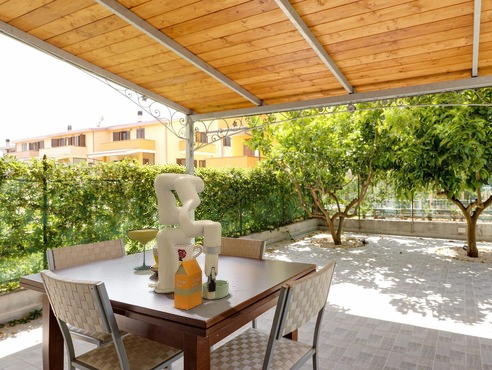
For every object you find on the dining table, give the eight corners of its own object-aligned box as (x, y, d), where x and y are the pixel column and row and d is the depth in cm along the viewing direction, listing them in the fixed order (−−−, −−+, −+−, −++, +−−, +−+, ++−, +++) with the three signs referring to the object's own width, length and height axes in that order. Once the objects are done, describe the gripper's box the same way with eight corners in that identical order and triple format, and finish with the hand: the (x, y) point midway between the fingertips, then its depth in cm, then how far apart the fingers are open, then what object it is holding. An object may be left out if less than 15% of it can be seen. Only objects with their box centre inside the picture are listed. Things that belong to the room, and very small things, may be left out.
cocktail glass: (137, 273, 196) (137, 232, 196) (122, 269, 206) (122, 230, 206) (165, 267, 211) (165, 229, 211) (150, 263, 221) (150, 227, 221)
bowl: (203, 301, 147) (203, 288, 147) (201, 293, 158) (201, 281, 158) (230, 297, 152) (230, 285, 152) (226, 290, 163) (226, 278, 163)
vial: (207, 299, 141) (208, 279, 141) (206, 297, 144) (207, 277, 144) (215, 298, 142) (216, 278, 142) (214, 296, 145) (215, 276, 145)
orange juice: (174, 307, 139) (174, 261, 140) (188, 300, 147) (189, 257, 148) (188, 309, 136) (188, 263, 137) (202, 303, 145) (202, 259, 145)
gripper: (201, 246, 149) (201, 285, 149) (205, 254, 134) (204, 297, 134) (218, 245, 152) (217, 284, 152) (223, 252, 137) (222, 295, 137)
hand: (211, 289), depth 143 cm, fingers closed on vial, 3 cm apart
